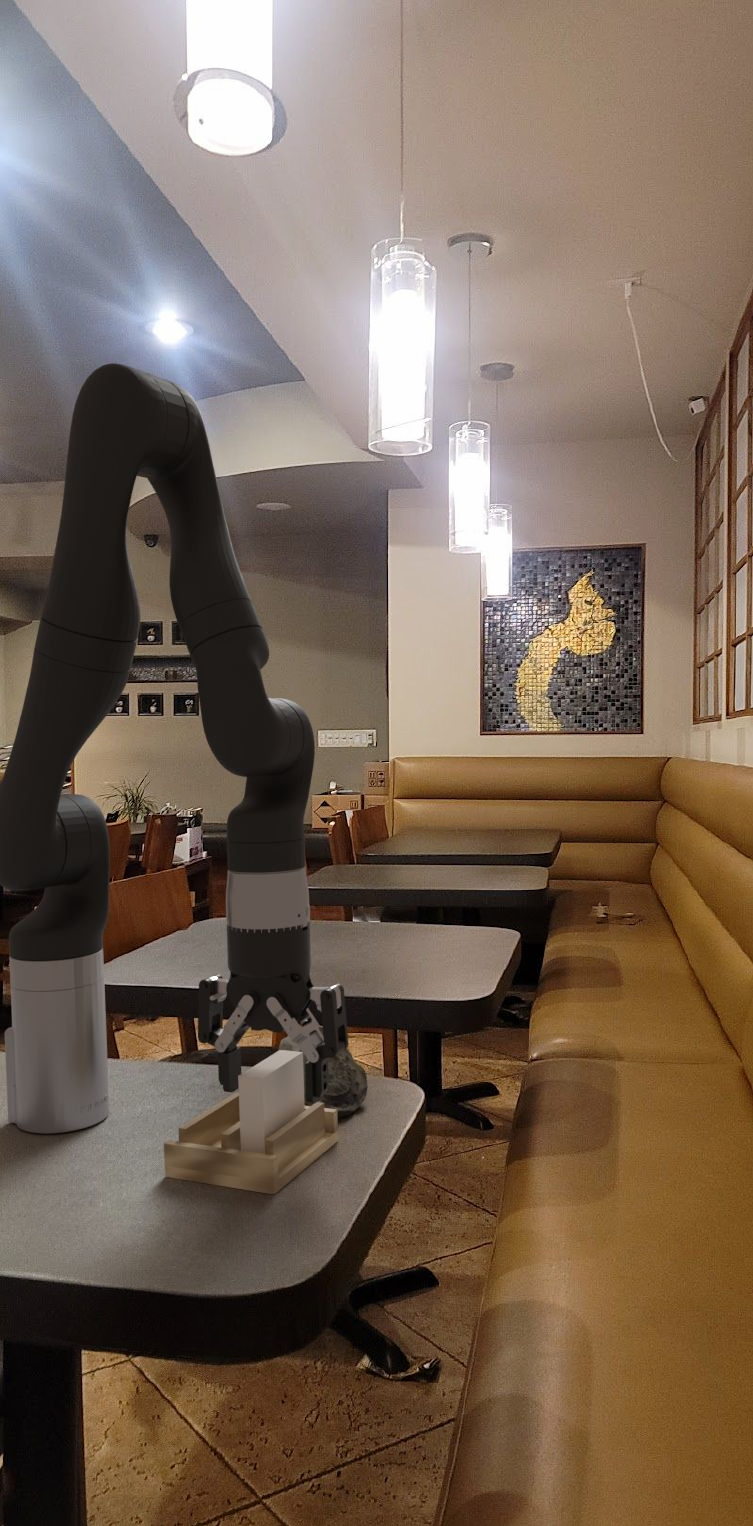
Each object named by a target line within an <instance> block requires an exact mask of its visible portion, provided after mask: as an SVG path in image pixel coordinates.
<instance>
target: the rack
mask: <svg viewBox="0 0 753 1526" xmlns="http://www.w3.org/2000/svg"><path fill="white" fill-rule="evenodd" d="M338 1119H339V1118H337V1110H336V1109H328V1108H324V1103H321V1102H316V1103H315V1104H313V1105H312V1106H305V1111H304V1112H302V1113H301V1114H300V1115H298V1116H297V1117H296V1118H294V1119H293V1120H291V1121H290V1122H289V1123H287V1124H286V1125H285V1126H283V1127H282V1128H281V1129H279V1130H278V1131H276V1132H275V1133H274V1134H272V1135H271V1136H270V1137H268V1138H267V1139H266V1140H265V1154H261V1153H254V1152H247V1151H241V1142H240V1112H239V1091H238V1092H237V1091H234V1093H232V1094H230V1095H228V1096H227V1097H226V1098H224V1099H223V1100H220V1102H218V1103H216V1104H214V1105H213V1106H211V1107H209V1108H208V1109H207V1110H205V1111H203V1112H201V1113H200V1114H199V1115H197V1116H195V1117H194V1118H192V1119H191V1120H189V1121H187V1122H186V1123H184V1124H182V1125H181V1126H179V1127H178V1141H177V1140H172V1139H168V1140H166V1141H165V1142H164V1143H163V1153H164V1156H163V1157H164V1177H165V1178H172V1179H177V1180H182V1181H183V1180H184V1181H190V1182H195V1183H202V1184H208V1185H214V1186H219V1187H225V1188H233V1189H239V1190H244V1191H251V1192H257V1193H263V1194H269V1195H276V1194H277V1193H278V1192H279V1191H280V1190H281V1189H283V1188H284V1187H285V1186H286V1185H288V1184H289V1183H290V1182H291V1181H292V1180H293V1179H295V1178H296V1177H297V1176H298V1175H299V1174H301V1173H302V1172H303V1171H304V1170H305V1169H306V1168H308V1167H309V1166H310V1165H311V1164H313V1163H314V1162H315V1161H316V1160H317V1159H319V1158H320V1157H321V1156H322V1155H324V1153H325V1152H326V1151H328V1150H330V1148H331V1147H333V1146H335V1144H336V1143H337V1142H338V1141H339V1128H338V1127H339V1126H338V1125H339V1123H338Z"/></svg>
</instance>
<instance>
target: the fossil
mask: <svg viewBox="0 0 753 1526" xmlns="http://www.w3.org/2000/svg"><path fill="white" fill-rule="evenodd" d="M319 1030H320V1032H321V1033H322V1035H323V1025H320V1024H319ZM279 1050H286V1051H297V1052H303V1051H302V1050H301V1048H300V1047H299V1045H298V1044H297V1043H294V1042H293V1041H292V1040H291V1039H290V1037H289V1036H288V1035H287V1036H286V1037H284V1038H282V1039H281V1040H280V1042H279V1044H278V1049H277V1051H276V1052H278V1051H279ZM307 1061H309V1060H308V1059H307V1057H306V1056H305V1054H304V1053H303V1072H304V1103H305V1106H312V1105H313V1104H315V1103H308V1102H307V1101H306V1080H305V1063H306V1062H307ZM328 1081H329V1088H328V1091H327V1093H325V1094H324V1095H323V1098H322V1099H321V1100H319V1101H318V1102H321V1103H324V1108H328V1109H336V1110H337V1119H341V1118H345V1117H348V1116H350V1115H351V1114H353V1113H354V1112H355V1111H357V1110H358V1109H359V1107H360V1106H361V1105H362V1104H363V1102H364V1101H365V1100H366V1097H367V1094H368V1087H369V1086H368V1077H367V1075H366V1070H365V1068H364V1067H363V1066H362V1065H360V1064H359V1063H357V1061H356V1060H355V1059H354V1056H353V1055H352V1053H351V1051H350V1050H349V1049H348V1048H347V1049H345V1050H344V1051H342V1052H340V1053H339V1054H338V1055H336V1056H335V1057H333V1058H330V1057H329V1058H328Z"/></svg>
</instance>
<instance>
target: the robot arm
mask: <svg viewBox="0 0 753 1526" xmlns="http://www.w3.org/2000/svg"><path fill="white" fill-rule="evenodd" d="M198 405H199V404H198V403H197V402H196V400H195V399H194V397H193V396H192V394H191V393H189V391H188V390H187V389H185V388H184V387H182V386H180V385H178V384H177V383H174V382H172V381H170V380H168V379H166V378H162V377H160V376H157V375H154V374H151V373H149V372H145V371H143V370H141V369H138V368H135V367H132V366H128V365H127V364H126V365H125V364H122V363H121V364H120V363H116V362H115V363H114V362H113V363H112V362H111V363H107V364H104V365H103V364H102V365H101V366H100V367H98V368H96V369H95V370H93V372H91V374H90V375H88V376H87V378H86V379H85V381H84V383H83V384H82V386H81V388H80V390H79V393H78V395H77V397H76V400H75V403H74V408H73V412H72V417H71V422H70V428H69V429H70V431H69V437H68V439H69V440H68V446H67V447H68V449H67V457H66V467H65V477H64V485H63V486H64V487H63V494H62V495H63V498H62V506H61V513H60V518H59V525H58V531H57V536H56V537H57V538H56V542H55V547H54V548H55V549H54V554H53V559H52V566H51V570H50V577H49V580H48V587H47V591H46V594H45V598H44V603H43V606H42V610H41V614H40V620H39V624H38V629H37V634H36V639H35V643H34V647H33V654H32V655H33V656H32V661H31V667H30V674H29V678H28V682H27V686H26V691H25V695H24V699H23V705H22V709H21V713H20V717H19V721H18V725H17V731H16V733H15V738H14V741H13V744H12V748H11V752H10V754H9V757H8V760H7V764H6V767H5V770H4V773H3V777H2V778H1V782H0V886H1V887H3V888H5V889H7V890H11V891H21V892H22V891H33V890H38V889H44V893H43V897H42V899H41V900H40V902H39V904H38V905H37V906H36V908H34V909H33V910H32V911H31V912H30V913H29V914H28V915H26V917H24V918H22V919H21V920H20V921H18V922H17V923H16V924H14V925H13V926H12V928H11V930H9V932H8V933H9V934H8V952H9V953H8V955H9V959H8V960H9V979H10V981H9V983H10V1000H11V1001H10V1003H11V1027H8V1028H7V1029H5V1031H4V1050H5V1051H4V1052H5V1055H4V1056H5V1073H6V1074H5V1075H6V1077H5V1078H6V1079H5V1080H6V1098H7V1099H6V1101H7V1102H6V1103H7V1121H8V1123H13V1124H15V1125H16V1126H17V1127H18V1128H19V1129H20V1130H22V1131H24V1132H28V1133H34V1134H60V1133H68V1132H73V1131H77V1130H82V1129H86V1128H88V1127H92V1126H94V1125H97V1124H99V1123H100V1122H102V1121H104V1120H105V1119H107V1116H108V1115H109V1114H110V1101H109V1100H110V1097H109V1078H108V1077H109V1069H108V1068H109V1067H108V1044H107V1043H108V1042H107V1038H108V1037H107V1018H106V1017H107V1016H106V992H105V990H106V989H105V969H104V968H105V966H104V965H105V964H104V948H103V947H104V942H103V940H104V933H105V929H106V927H107V924H108V919H109V913H110V873H111V872H110V870H111V869H110V868H111V867H110V865H111V864H110V863H111V862H110V861H111V853H110V851H111V849H110V848H111V846H110V835H109V829H108V824H107V821H106V818H105V816H104V814H103V811H102V810H101V808H100V806H99V805H98V804H97V803H96V802H95V801H94V800H93V799H92V798H90V797H88V796H86V795H84V794H77V793H70V794H62V792H63V788H64V786H65V782H66V779H67V776H68V773H69V771H70V769H71V766H72V764H73V763H74V760H75V759H76V757H77V755H78V754H79V752H80V750H81V749H82V747H83V746H84V745H85V743H86V742H87V740H88V739H89V738H91V736H92V735H93V733H94V732H95V731H96V729H97V728H98V727H99V726H100V724H102V722H103V721H104V719H105V718H106V717H107V715H109V713H110V712H111V710H112V709H113V708H114V707H115V705H116V704H117V702H118V700H119V699H120V697H121V696H122V694H123V692H124V690H125V688H126V686H127V684H128V680H129V678H130V673H131V669H132V665H133V662H134V661H133V660H134V656H135V653H136V648H137V644H138V638H139V633H140V627H141V606H140V605H141V604H140V600H139V595H138V588H137V585H136V584H137V583H136V581H135V577H134V576H135V575H134V572H133V569H132V563H131V561H130V555H129V551H128V540H127V531H128V530H127V526H128V517H129V511H130V505H131V501H132V495H133V491H134V487H135V483H136V479H137V477H140V478H145V479H147V480H148V482H149V483H150V485H151V486H152V488H153V490H154V493H155V495H156V496H157V498H158V500H159V502H160V504H161V506H162V509H163V511H164V514H165V516H166V519H167V523H168V528H169V533H170V559H169V560H170V562H169V563H170V564H169V577H168V578H169V593H170V594H169V595H170V600H171V601H170V602H171V604H172V608H173V613H174V616H175V619H176V621H177V624H178V628H179V630H180V633H181V636H182V638H183V640H184V643H185V645H186V646H185V647H186V648H187V651H188V653H189V656H190V658H191V661H192V664H193V666H194V668H195V670H196V671H195V673H196V682H197V693H198V700H199V707H200V709H199V710H200V715H201V723H202V727H203V732H204V735H205V739H206V742H207V745H208V747H209V749H210V751H211V752H212V754H213V756H214V758H215V759H216V760H217V762H218V764H220V765H221V766H222V767H223V768H224V769H225V770H226V771H228V772H229V773H231V774H233V775H235V776H238V777H243V778H246V779H245V786H244V787H245V788H244V796H243V799H242V801H240V803H239V804H237V805H236V806H234V808H233V809H231V810H230V811H229V813H228V816H227V821H226V854H227V856H226V857H227V881H226V889H225V918H226V922H225V923H226V949H227V952H226V953H227V954H226V955H227V969H228V970H229V971H230V972H229V973H230V976H229V979H227V978H224V977H223V976H222V975H221V974H219V973H216V974H213V975H211V976H209V977H207V978H203V979H201V980H200V981H199V982H198V1005H197V1008H198V1010H197V1012H198V1013H197V1040H198V1041H199V1042H200V1043H201V1044H208V1045H210V1046H213V1048H215V1050H216V1051H217V1068H218V1069H217V1070H218V1071H217V1072H218V1081H219V1084H220V1085H221V1086H222V1089H223V1091H224V1092H225V1093H230V1094H231V1093H232V1094H233V1092H234V1093H235V1092H236V1091H237V1090H239V1083H238V1076H239V1075H241V1074H242V1052H241V1051H242V1049H241V1047H240V1046H238V1044H239V1042H241V1040H242V1038H243V1036H245V1034H246V1032H248V1030H250V1031H257V1032H259V1031H266V1030H267V1031H270V1032H272V1033H277V1034H282V1033H283V1032H285V1033H286V1034H287V1036H289V1037H290V1039H291V1040H292V1041H293V1042H294V1043H297V1044H298V1045H299V1047H300V1048H301V1050H302V1051H303V1053H304V1054H305V1056H306V1057H307V1059H308V1060H309V1061H307V1062H306V1063H305V1080H306V1101H307V1102H308V1103H316V1102H318V1101H319V1100H321V1099H322V1098H323V1095H324V1094H325V1093H327V1091H328V1088H329V1081H328V1058H329V1057H330V1058H333V1057H335V1056H336V1055H338V1054H339V1053H340V1052H342V1051H344V1050H345V1049H348V1047H349V1033H348V1021H347V1010H346V1009H347V1007H346V999H345V997H346V996H345V988H344V987H343V985H342V984H341V983H335V984H333V985H330V986H314V983H313V982H312V979H311V975H310V974H311V972H310V971H311V967H312V966H311V965H312V955H311V954H312V953H311V952H312V951H311V950H312V949H311V920H310V919H311V918H310V917H311V906H310V891H309V883H308V877H307V873H306V871H307V870H306V842H305V841H306V839H305V826H304V819H305V814H306V809H307V806H308V803H309V802H308V801H309V797H310V796H309V795H310V789H311V785H312V779H313V778H312V776H313V771H314V765H315V754H316V751H315V749H316V748H315V747H316V746H315V736H314V730H313V727H312V723H311V720H310V719H309V716H308V714H307V713H306V712H305V710H304V709H303V708H302V706H300V705H299V704H298V703H296V702H295V701H292V700H290V699H286V698H281V697H268V695H267V693H266V688H265V685H264V680H263V676H262V671H261V670H262V669H263V668H264V667H265V665H267V663H268V661H269V658H270V647H269V643H268V640H267V637H266V634H265V632H264V629H263V626H262V624H261V621H260V619H259V616H258V613H257V611H256V608H255V605H254V604H253V603H254V602H253V600H252V598H251V595H250V592H249V591H248V588H247V586H246V583H245V580H244V577H243V575H242V571H241V570H240V569H241V568H240V566H239V563H238V560H237V558H236V555H235V554H236V553H235V550H234V547H233V542H232V540H231V535H230V531H229V528H228V524H227V520H226V515H225V510H224V506H223V502H222V496H221V494H220V493H221V492H220V488H219V483H218V479H217V474H216V470H215V466H214V462H213V456H212V451H211V445H210V440H209V436H208V431H207V430H206V426H205V425H206V424H205V422H204V418H203V415H202V413H201V410H200V407H199V406H198ZM227 996H228V998H229V1000H230V1001H231V1003H232V1005H233V1006H234V1008H235V1010H234V1011H233V1012H232V1014H231V1015H230V1017H229V1018H228V1020H227V1021H226V1023H225V1024H224V1001H225V1000H226V998H227ZM312 1002H314V1003H315V1005H316V1010H318V1011H320V1014H321V1022H322V1024H321V1026H323V1035H322V1033H321V1032H320V1030H319V1025H320V1024H319V1022H318V1021H317V1019H316V1018H315V1016H314V1014H313V1013H312V1012H311V1010H310V1008H309V1007H310V1005H311V1003H312ZM299 1022H300V1024H301V1025H300V1024H299ZM223 1024H224V1026H223Z"/></svg>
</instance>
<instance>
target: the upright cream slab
mask: <svg viewBox="0 0 753 1526" xmlns="http://www.w3.org/2000/svg"><path fill="white" fill-rule="evenodd" d="M238 1083H239V1088H238V1092H239V1112H240V1142H241V1151H247V1152H254V1153H261V1154H265V1140H266V1139H267V1138H268V1137H270V1136H271V1135H272V1134H274V1133H275V1132H276V1131H278V1130H279V1129H281V1128H282V1127H283V1126H285V1125H286V1124H287V1123H289V1122H290V1121H291V1120H293V1119H294V1118H296V1117H297V1116H298V1115H300V1114H301V1113H302V1112H304V1111H305V1103H304V1072H303V1052H297V1051H286V1050H279V1051H278V1052H277V1051H276V1052H274V1053H273V1054H271V1055H269V1056H268V1057H267V1058H265V1059H263V1060H261V1061H260V1062H258V1063H257V1064H255V1065H253V1066H252V1067H250V1068H249V1069H247V1070H246V1071H244V1072H241V1075H239V1076H238Z"/></svg>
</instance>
